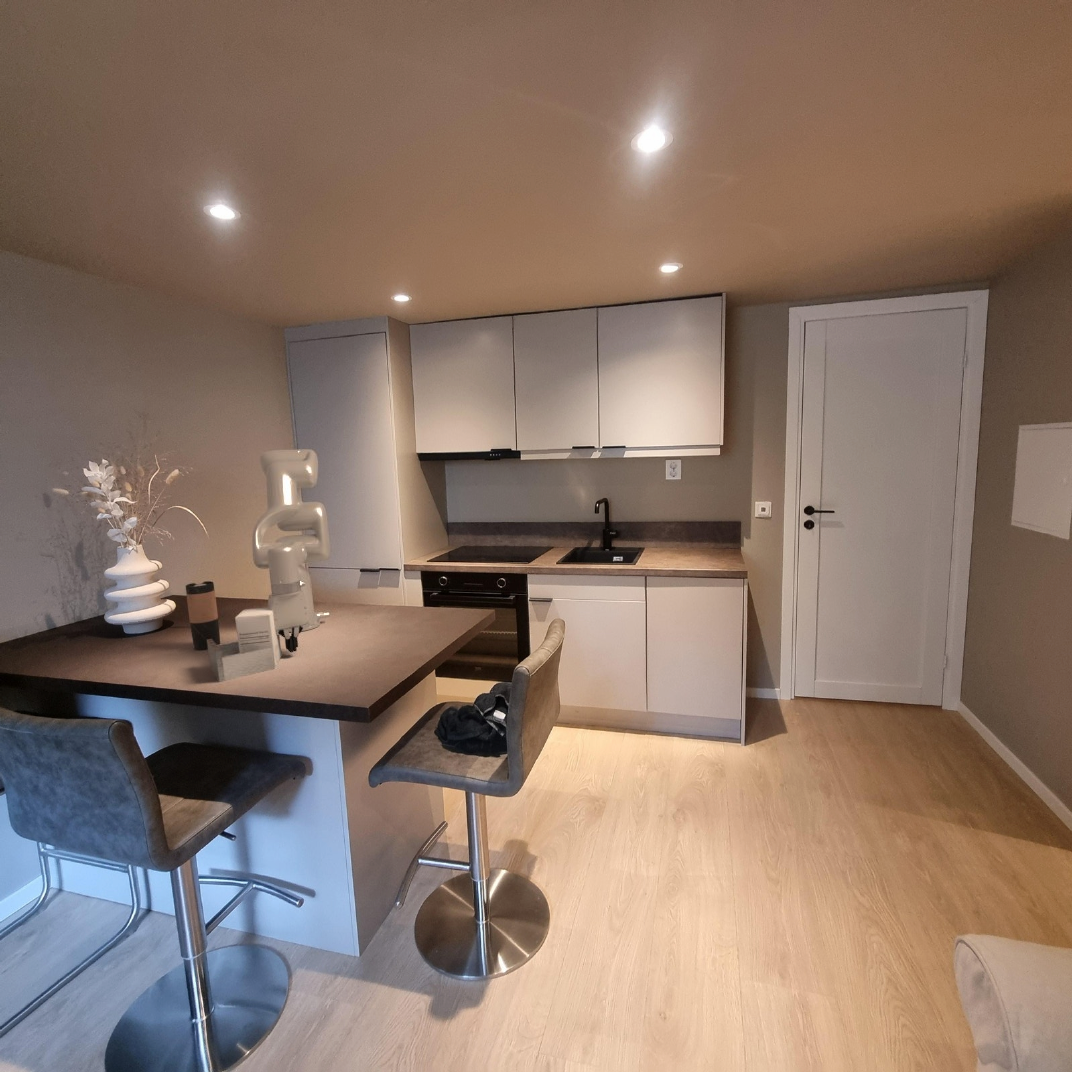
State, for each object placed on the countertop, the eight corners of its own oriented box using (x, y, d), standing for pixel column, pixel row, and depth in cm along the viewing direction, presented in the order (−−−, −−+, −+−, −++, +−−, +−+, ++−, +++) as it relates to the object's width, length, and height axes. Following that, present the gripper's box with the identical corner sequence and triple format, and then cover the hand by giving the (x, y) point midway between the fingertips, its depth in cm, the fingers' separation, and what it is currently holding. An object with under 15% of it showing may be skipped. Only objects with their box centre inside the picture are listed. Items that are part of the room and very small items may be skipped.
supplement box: (248, 659, 162) (242, 608, 160) (282, 655, 164) (276, 605, 162) (240, 670, 153) (233, 617, 151) (275, 666, 155) (269, 613, 153)
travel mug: (208, 651, 172) (200, 586, 169) (187, 650, 173) (178, 586, 171) (227, 642, 179) (219, 581, 177) (206, 642, 181) (198, 581, 178)
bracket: (261, 655, 165) (258, 629, 164) (274, 668, 154) (271, 640, 153) (210, 667, 157) (206, 639, 156) (219, 682, 146) (216, 652, 145)
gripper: (308, 582, 168) (314, 641, 171) (254, 591, 159) (261, 654, 161) (316, 585, 162) (322, 647, 165) (260, 595, 153) (268, 660, 156)
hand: (292, 650), depth 163 cm, fingers closed
